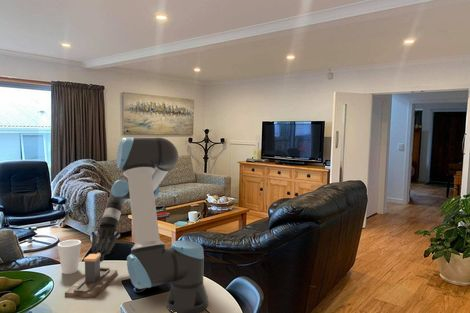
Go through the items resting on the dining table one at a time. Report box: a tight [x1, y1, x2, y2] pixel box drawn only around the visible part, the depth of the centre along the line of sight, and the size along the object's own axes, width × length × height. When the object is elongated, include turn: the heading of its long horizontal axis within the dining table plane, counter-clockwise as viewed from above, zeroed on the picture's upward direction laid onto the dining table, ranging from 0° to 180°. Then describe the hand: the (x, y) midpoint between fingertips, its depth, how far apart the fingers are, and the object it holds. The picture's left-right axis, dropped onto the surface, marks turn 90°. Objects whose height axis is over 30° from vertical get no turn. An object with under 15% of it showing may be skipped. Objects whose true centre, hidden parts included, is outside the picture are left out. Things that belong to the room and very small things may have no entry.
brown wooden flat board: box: [64, 266, 118, 298], centre depth 142 cm, size 12×22×2 cm, turn 178°
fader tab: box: [83, 253, 101, 283], centre depth 142 cm, size 5×6×10 cm
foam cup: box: [57, 239, 82, 275], centre depth 155 cm, size 10×9×13 cm
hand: (95, 268), depth 146 cm, fingers closed
